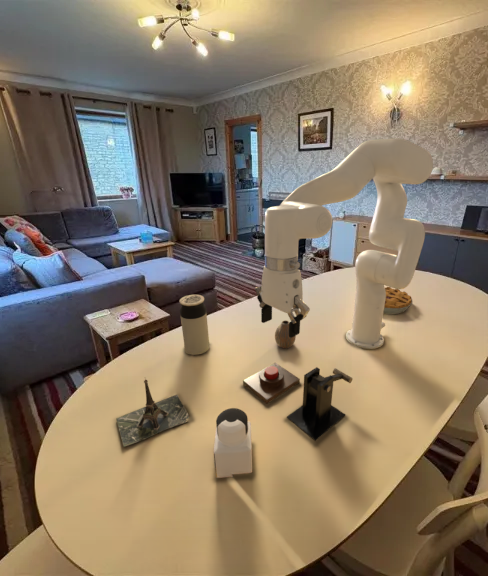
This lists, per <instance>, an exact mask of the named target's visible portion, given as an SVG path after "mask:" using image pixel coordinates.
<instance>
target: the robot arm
mask: <svg viewBox="0 0 488 576" xmlns="http://www.w3.org/2000/svg"><path fill="white" fill-rule="evenodd" d="M433 168H434V160H433V156H432V154H431V152H430V151H429V150H427V149H426V148H424V147H422V146H420V145H418V144H416V143H414V142H412V141H410V140H407V139H404V138H398V137H397V138H396V137H394V138H380V139H379V138H377V139H376V138H375V139H368V140H365V141H363V142H362V143H360V144H359V145H358V146H356V148H354V150H352V151H351V152H350V153H349V154H348V155H347V156H346V157H345V158H344V159H343V160H342V161H341V162H340V163H339V164H337V166H335V167H334V168H333V169H332V170H329V171H328V172H326V173H323V174H321V175H320V176H317V177H316V178H313V179H311V180H309V181H307V182H305V183H303V184H301V185H300V186H298V187H297V188H296V189H294V190H293V191H292V192H290V194H289V195H288V196H287V197H285V198H284V200H282V202H281V203H280V204H279V205H276V206H270V207H268V208H267V209H266V210H265V213H264V265H263V268H262V274H261V276H262V277H261V285H260V286H256V287H255V288H254V290H255V294H256V296H257V297H256V299H257V301H258V303H259V308H260V313H261V314H260V315H261V316H260V317H261V321H260V322H261V323H263V324H265V323H267V322H270V321H271V320H272V319H273V308H274V309H276V310H278V311H280V312H283V313H285V314H286V315H287V316H288V317H289V320H290V321H289V337H291V338H292V337H294V336H296V337H297V336H298V335H299V334H300V332H301V321H302V320H304V319H306V318H307V315H308V314H309V312H310V311H311V308H310V306H309V305H307V303H305V302H304V299H303V297H304V293H303V279H302V274H301V270H300V269H299V268H300V267H301V263H300V262H299V241H300V240H302V239H319V238H322V237H324V236H326V235H327V234H328V233H329V232H330V230H331V228H332V227H333V216H332V213H331V211H330V210H329V209H328V208H327V207H325V206H326V205H330V204H337V203H341V202H345V201H348V200H351V199H354V198H355V197H356V196H358V195H359V193H360V192H361V191H362V190H363V189H364V188H365V187H366V186H367V185H368V184H369V183H370V182H371V181H372V180H373V183H374V185H375V188H376V192H377V194H376V195H377V199H376V204H375V209H374V212H373V216H372V220H371V223H370V227H369V231H368V241H369V243H371V244H372V245H374V246H377V247H380V248H384V249H388V250H392V251H397V254H393V253H389V252H384V251H381V250H376V249H366V250H363V251H361V252H360V253H359V254H358V256H357V257H356V259H355V263H354V264H355V265H354V269H355V281H356V282H355V294H354V302H353V312H352V319H351V320H352V321H351V322H352V323H351V328H350V329H348V330H347V331H346V334H345V338H346V340H347V342H349V344H351V345H352V346H354V347H357V348H360V349H363V350H364V349H365V350H375V349H378V348H381V347H382V346H383V345H384V343H385V338H384V335H382V334H381V330H382V329H384V328H385V327H386V323H385V322H384V321H383V317H384V313H383V312H384V305H385V299H386V291H385V288H386V287H391V288H392V289H399V290H404V289H406V288H407V287H408V286H409V285H410V284H411V282H412V280H413V278H414V275H415V272H416V269H417V266H418V263H419V259H420V256H421V252H422V250H423V246H424V242H425V238H426V228H425V226H424V224H423V222H421V221H420V220H417V219H413V218H406V217H405V213H406V210H407V209H406V208H407V204H408V196H407V193H406V190H405V188H404V186H403V185H421V184H424V183H425V182H426V181H427V180H428V179H429V177H430V176H431V174H432V172H433ZM293 312H294V313H293Z"/></svg>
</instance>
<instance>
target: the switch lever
mask: <svg viewBox="0 0 488 576" xmlns="http://www.w3.org/2000/svg"><path fill="white" fill-rule="evenodd" d="M329 376H330V375H329ZM329 376H323V375H321V374H319V375H317V376H313V377H312V380H311V384H310V386H311V387H312V388H314V389H315V390H317V388H318V384H319V383H320V382H321V381H323V380H324V379H326V378H327V377H329ZM331 376H332V377H334V381H333V383H334V382H336V381H340V380H343V381H345V382H347V383H348V384H351V383H352V381H353V377H351V376H349V375H348V374H346V373H345V372H343V371H341V370H339V369H338V368H333V370H332V375H331Z"/></svg>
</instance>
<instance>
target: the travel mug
mask: <svg viewBox="0 0 488 576" xmlns="http://www.w3.org/2000/svg"><path fill="white" fill-rule="evenodd" d="M178 301H179V304H180V306H181V307H179V314H180V322H181V331H182V338H183V346H184V351H185V353H186V354H189V355H192V356H194V355H195V356H198V355H202V354H205V353H206V352H207V351H209V349H210V336H209V335H210V334H209V325H208V316H207V315H208V314H207V306H206V305H205V304H204V302H205V297H204V296H203V295H201V294H189V295H184V296H183V297H181V298H179V300H178Z"/></svg>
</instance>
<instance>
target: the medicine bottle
mask: <svg viewBox="0 0 488 576" xmlns="http://www.w3.org/2000/svg"><path fill="white" fill-rule="evenodd" d="M215 425H216V426H215V435H214V444H213V459H214V460H213V461H214V470H215V477H216V478H217V479H221V478H222V479H224V478H233V477H234V476H233V475H241V474H251V473H252V472H253V451H252V450H253V446H252V444H253V442H252V423H251V421H249V418H248V415H247V413H246V412H245V411H244V410H242V409H240V408H237V407H236V408H235V407H231V408H227V409H224V410H223V411H222V412H220V413H219V414H218V415H217V417H216V419H215Z"/></svg>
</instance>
